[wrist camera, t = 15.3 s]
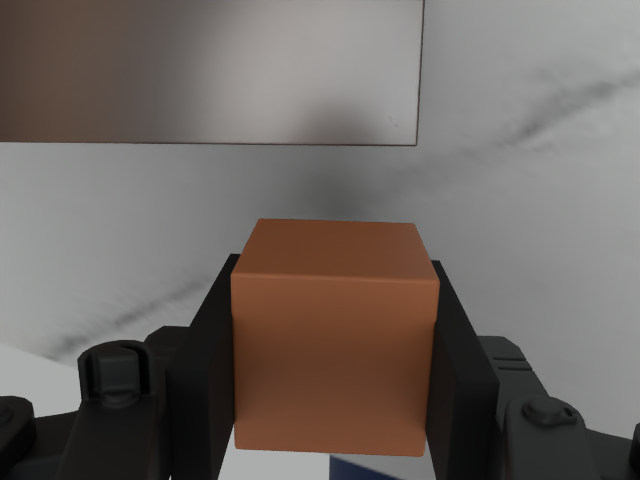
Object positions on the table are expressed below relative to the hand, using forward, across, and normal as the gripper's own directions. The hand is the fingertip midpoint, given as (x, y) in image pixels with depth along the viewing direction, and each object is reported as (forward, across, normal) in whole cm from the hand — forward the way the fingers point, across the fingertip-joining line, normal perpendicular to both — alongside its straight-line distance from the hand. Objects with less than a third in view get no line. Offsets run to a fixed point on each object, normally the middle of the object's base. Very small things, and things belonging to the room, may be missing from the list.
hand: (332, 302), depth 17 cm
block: (0, 0, 0) cm, 0 cm away
